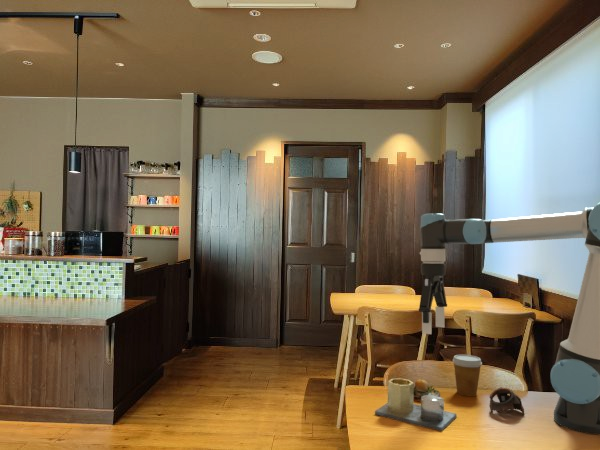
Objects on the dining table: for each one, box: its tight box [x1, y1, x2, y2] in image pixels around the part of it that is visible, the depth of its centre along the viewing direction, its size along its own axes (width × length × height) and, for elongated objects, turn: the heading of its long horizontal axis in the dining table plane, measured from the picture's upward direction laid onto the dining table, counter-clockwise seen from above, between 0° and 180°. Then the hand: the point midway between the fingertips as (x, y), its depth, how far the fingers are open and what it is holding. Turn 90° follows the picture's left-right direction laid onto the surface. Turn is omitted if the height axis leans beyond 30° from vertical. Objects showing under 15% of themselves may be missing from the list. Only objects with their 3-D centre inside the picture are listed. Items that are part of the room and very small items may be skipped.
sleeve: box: [387, 377, 415, 413], centre depth 146 cm, size 7×7×8 cm
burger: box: [413, 378, 441, 403], centre depth 161 cm, size 12×12×8 cm
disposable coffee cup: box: [452, 354, 483, 397], centre depth 166 cm, size 10×10×12 cm
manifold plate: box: [374, 395, 457, 432], centre depth 144 cm, size 20×13×6 cm, turn 55°
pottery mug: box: [488, 387, 526, 416], centre depth 149 cm, size 12×10×8 cm
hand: (433, 330), depth 153 cm, fingers open, 13 cm apart
